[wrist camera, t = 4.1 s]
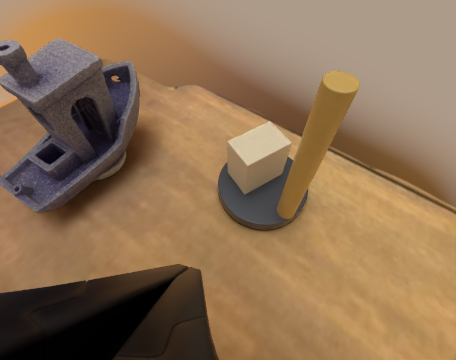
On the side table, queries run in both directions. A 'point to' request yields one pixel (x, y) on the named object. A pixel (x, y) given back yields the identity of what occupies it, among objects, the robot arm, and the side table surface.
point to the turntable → (282, 160)
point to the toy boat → (68, 120)
